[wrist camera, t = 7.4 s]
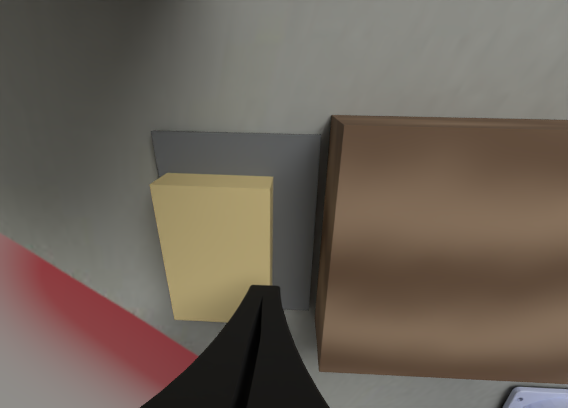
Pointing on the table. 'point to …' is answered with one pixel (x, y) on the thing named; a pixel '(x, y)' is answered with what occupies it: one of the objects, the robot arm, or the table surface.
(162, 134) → the mat
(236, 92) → the table surface
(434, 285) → the board
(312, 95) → the table surface
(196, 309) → the pale yellow block
